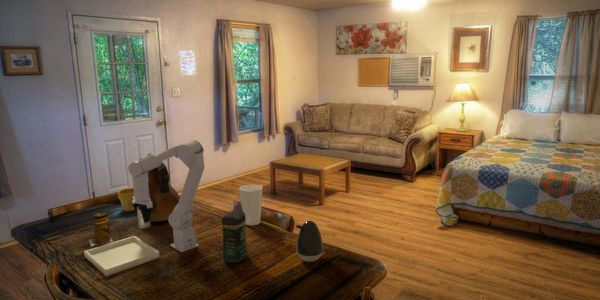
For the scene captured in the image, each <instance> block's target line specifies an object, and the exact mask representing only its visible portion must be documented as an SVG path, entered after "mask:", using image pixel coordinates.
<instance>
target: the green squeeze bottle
mask: <svg viewBox="0 0 600 300" xmlns="http://www.w3.org/2000/svg"><path fill="white" fill-rule="evenodd" d="M245 223H246V218H245V213H244V212H243V210H242V209H233V210H231V211H228V212H226V213H225V214H223V215H222V217H221V228H222V244H223V245H222V259H223V261H224V262H227V263H228V264H229V263H230V264H234V263H235V264H236V263H237V264H238V263H240V262H242V261H243V260H244V259H245V258H246V257H247V255H248V249H247V248H248V247H247V237H246V224H245Z"/></svg>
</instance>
